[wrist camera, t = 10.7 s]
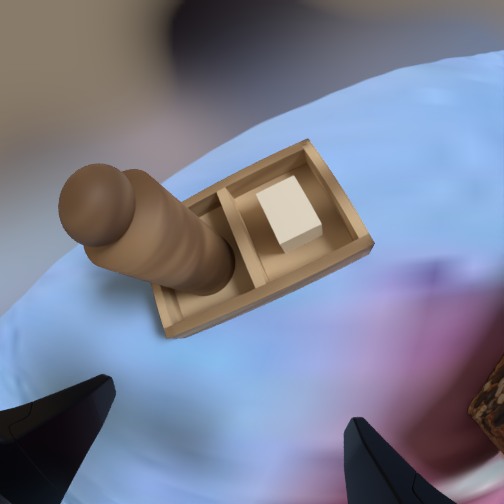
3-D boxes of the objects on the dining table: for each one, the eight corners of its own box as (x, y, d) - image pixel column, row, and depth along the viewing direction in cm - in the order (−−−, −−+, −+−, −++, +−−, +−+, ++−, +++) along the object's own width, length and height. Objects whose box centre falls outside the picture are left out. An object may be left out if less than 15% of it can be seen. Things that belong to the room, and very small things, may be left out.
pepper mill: (228, 301, 21) (83, 257, 8) (172, 289, 22) (25, 243, 9) (240, 237, 22) (131, 125, 9) (186, 232, 24) (62, 144, 10)
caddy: (369, 254, 19) (374, 243, 17) (184, 338, 22) (166, 338, 19) (311, 157, 23) (308, 138, 20) (155, 237, 25) (138, 228, 23)
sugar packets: (322, 235, 20) (321, 223, 18) (285, 253, 21) (279, 244, 18) (297, 190, 22) (293, 175, 20) (263, 207, 22) (255, 194, 20)
